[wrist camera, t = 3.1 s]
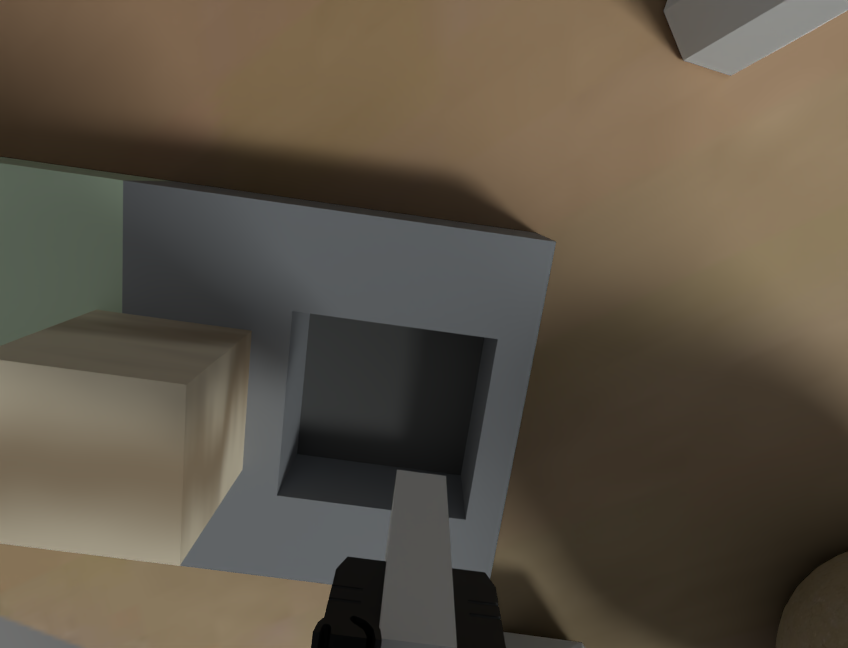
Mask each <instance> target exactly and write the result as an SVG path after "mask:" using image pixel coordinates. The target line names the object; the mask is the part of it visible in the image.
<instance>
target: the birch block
mask: <svg viewBox="0 0 848 648" xmlns="http://www.w3.org/2000/svg"><path fill="white" fill-rule="evenodd" d="M251 333H252V331H250V330H243V329H235V328H228V327H221V326H213V325H206V324H199V323H191V322H184V321H176V320H169V319H162V318H154V317H147V316H140V315H132V314H125V313H117V312H110V311H103V310H94V311H91V312H88V313H86V314H83V315H80V316H78V317H75V318H73V319H70V320H67V321H65V322H62V323H59V324H57V325H54V326H51V327H49V328H46V329H43V330H41V331H38V332H35V333H33V334H30V335H27V336H25V337H22V338H19V339H17V340H14V341H12V342H9V343H6V344H4V345H1V346H0V543H1V544H9V545H17V546H25V547H33V548H41V549H49V550H57V551H65V552H73V553H81V554H89V555H97V556H105V557H113V558H121V559H129V560H137V561H145V562H153V563H162V564H170V565H178V566H180V565H181V563H182V562H183V560H184V558H185V557H186V555H187V554H188V552H189V551H190V549H191V548H192V546H193V545H194V543H195V542H196V540H197V539H198V537H199V535H200V534H201V532H202V531H203V529H204V528H205V526H206V525H207V523H208V522H209V520H210V519H211V517H212V516H213V514H214V512H215V511H216V509H217V508H218V506H219V505H220V503H221V502H222V500H223V499H224V497H225V496H226V494H227V493H228V491H229V490H230V488H231V486H232V485H233V483H234V482H235V480H236V479H237V477H238V476H239V474H240V473H241V471H242V470H243V455H244V439H245V424H246V409H247V394H248V379H249V364H250V348H251Z"/></svg>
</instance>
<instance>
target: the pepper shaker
mask: <svg viewBox="0 0 848 648" xmlns="http://www.w3.org/2000/svg"><path fill="white" fill-rule="evenodd" d="M847 10H848V0H667V2H666V5H665V8H664V14H665V16H666V19H667V21H668V24H669V26H670V29H671V31H672V34H673V36H674V39H675V41H676V43H677V46H678V48H679V51H680V53H681V56H682V58H683V60H684V61H687V62H690V63H693V64H696V65H699V66H702V67H705V68H708V69H711V70H714V71H718V72H721V73H724V74H727V75H730V76H731V75H733V74H735V73H737V72H738V71H740V70H742V69H744V68H746V67H747V66H749V65H751V64H753V63H755V62H757V61H758V60H760V59H762V58H764V57H766V56H767V55H769V54H771V53H773V52H775V51H776V50H778V49H780V48H782V47H784V46H785V45H787V44H789V43H791V42H793V41H794V40H796V39H798V38H800V37H801V36H803V35H805V34H807V33H808V32H810V31H812V30H814V29H815V28H817V27H819V26H821V25H823V24H824V23H826V22H828V21H830V20H831V19H833V18H835V17H837V16H838V15H840V14H842V13H844V12H846V11H847Z"/></svg>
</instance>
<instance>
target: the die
mask: <svg viewBox="0 0 848 648" xmlns="http://www.w3.org/2000/svg"><path fill="white" fill-rule="evenodd" d="M503 633H504V639H505V645H506V648H585V647H584V645H583V644H582V642H575V641H567V640H560V639H552V638H545V637H538V636H530V635H523V634H515V633H508V632H503Z"/></svg>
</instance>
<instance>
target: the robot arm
mask: <svg viewBox="0 0 848 648" xmlns="http://www.w3.org/2000/svg"><path fill="white" fill-rule="evenodd" d="M500 618H501V616H500V610H499V607H498V598H497V593H496V587H495V586H494V584H493V583H492V581H491V580H490V579H489V577H488V576H487V574H486V573H485V572H479V571H471V570H463V569H455V568H452V562H451V546H450V531H449V515H448V500H447V484H446V476H442V475H435V474H427V473H419V472H412V471H404V470H397V475H396V482H395V489H394V496H393V503H392V510H391V517H390V524H389V531H388V539H387V546H386V554H385V561H380V560H372V559H364V558H356V557H348V556H347V558H346V559H345V560H344V561H343V562H342V563H341V564H340V565H339V566H338V567H337V568H336V571H335V575H334V580H333V584H332V588H331V592H330V596H329V600H328V604H327V608H326V613H325V617H324V618H323V619H321V620H320V621H319V622H318V623H317V625H316V627H315V629H314V631H313V636H312V645H311V648H506V645H505V639H504V633H503V628H502V622H501V620H500Z"/></svg>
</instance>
